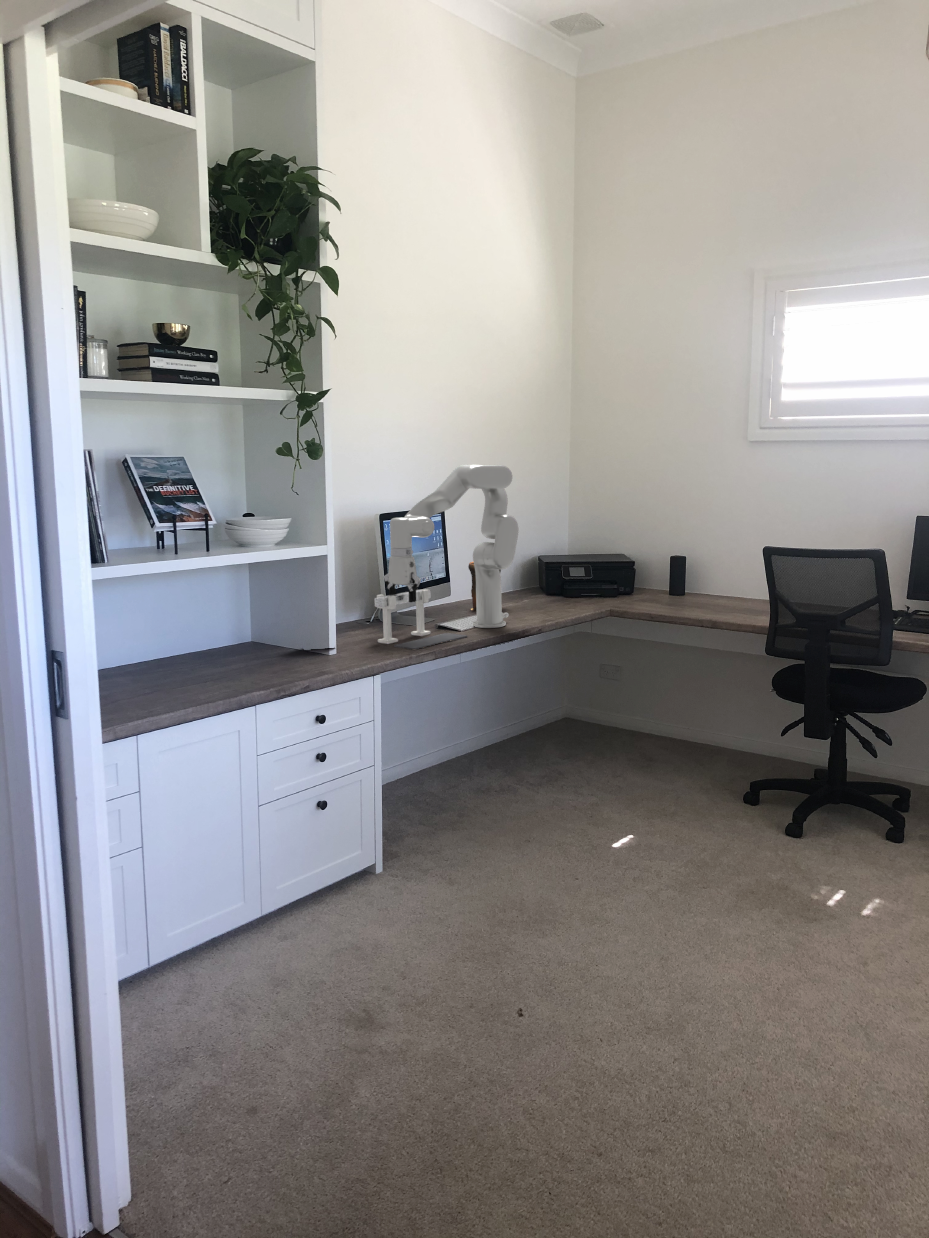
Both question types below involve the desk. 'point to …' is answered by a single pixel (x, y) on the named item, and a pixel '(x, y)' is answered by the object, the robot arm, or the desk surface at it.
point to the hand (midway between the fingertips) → (402, 600)
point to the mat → (430, 641)
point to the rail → (398, 598)
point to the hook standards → (392, 605)
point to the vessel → (474, 584)
